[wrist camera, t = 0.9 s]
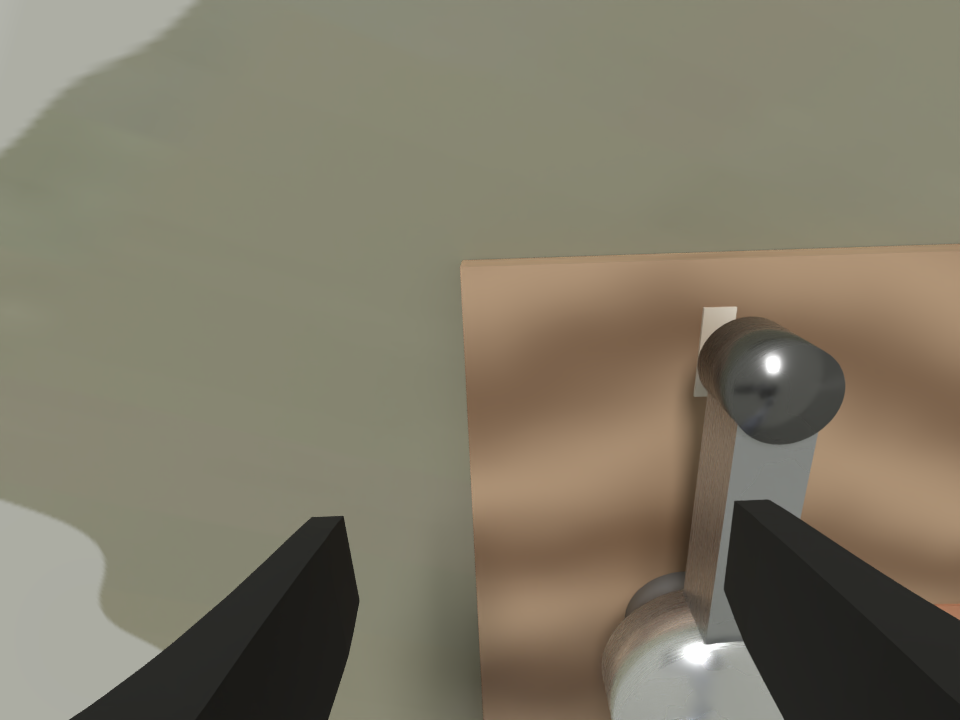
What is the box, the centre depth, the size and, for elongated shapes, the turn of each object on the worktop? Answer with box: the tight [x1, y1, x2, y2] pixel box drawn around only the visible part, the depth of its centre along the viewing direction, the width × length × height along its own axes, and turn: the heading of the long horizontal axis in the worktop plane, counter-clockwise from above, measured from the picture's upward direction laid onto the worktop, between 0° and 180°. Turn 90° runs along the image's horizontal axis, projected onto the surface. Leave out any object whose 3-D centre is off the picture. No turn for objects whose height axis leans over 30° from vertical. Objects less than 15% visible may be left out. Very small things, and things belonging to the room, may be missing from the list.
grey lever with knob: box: [602, 316, 845, 720], centre depth 16 cm, size 16×7×2 cm, turn 2°
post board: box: [460, 244, 960, 720], centre depth 20 cm, size 22×22×3 cm
